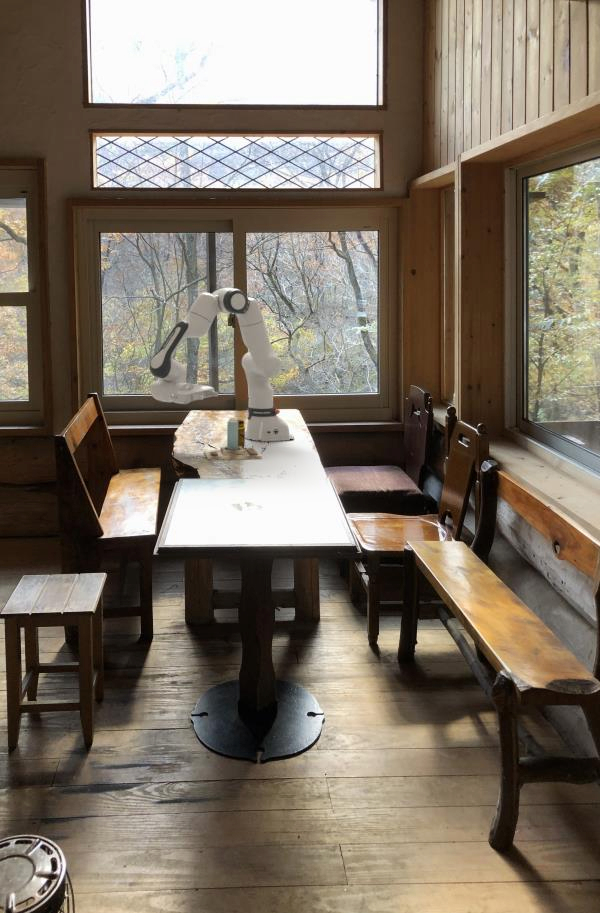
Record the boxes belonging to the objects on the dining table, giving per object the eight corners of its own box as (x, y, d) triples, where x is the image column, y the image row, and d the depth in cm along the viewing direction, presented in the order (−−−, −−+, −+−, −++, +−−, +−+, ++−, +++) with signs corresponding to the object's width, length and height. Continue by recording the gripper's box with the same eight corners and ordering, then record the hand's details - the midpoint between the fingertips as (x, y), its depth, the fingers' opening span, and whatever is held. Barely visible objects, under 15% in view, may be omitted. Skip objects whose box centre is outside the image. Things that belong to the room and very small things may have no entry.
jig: (255, 452, 385) (255, 445, 385) (261, 458, 373) (261, 451, 372) (203, 453, 380) (203, 446, 380) (208, 459, 368) (208, 452, 367)
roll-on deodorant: (236, 451, 379) (237, 416, 376) (238, 454, 375) (239, 418, 372) (226, 452, 378) (226, 416, 375) (228, 454, 374) (228, 418, 371)
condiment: (248, 449, 392) (248, 421, 390) (231, 450, 388) (231, 422, 385) (239, 445, 398) (240, 418, 396) (222, 447, 393) (223, 420, 391)
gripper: (167, 389, 376) (194, 391, 369) (198, 382, 393) (224, 385, 386) (168, 404, 377) (194, 407, 370) (198, 397, 394) (224, 400, 387)
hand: (210, 396), depth 378 cm, fingers open, 8 cm apart
